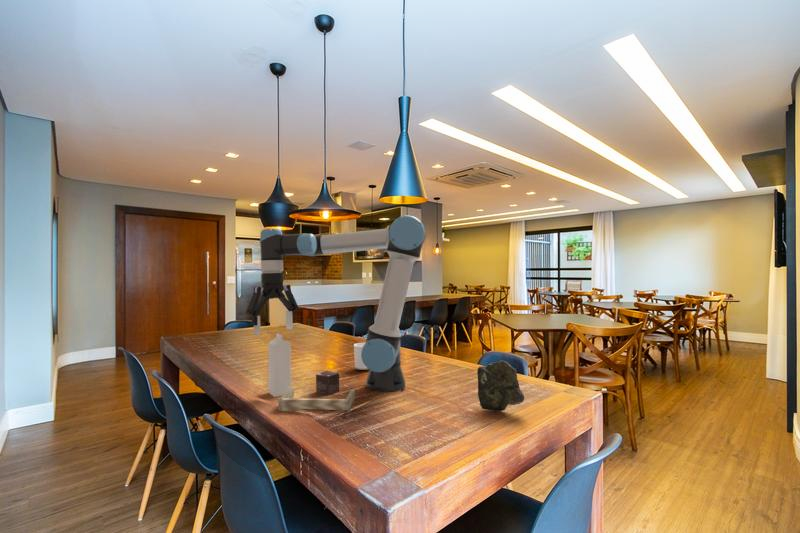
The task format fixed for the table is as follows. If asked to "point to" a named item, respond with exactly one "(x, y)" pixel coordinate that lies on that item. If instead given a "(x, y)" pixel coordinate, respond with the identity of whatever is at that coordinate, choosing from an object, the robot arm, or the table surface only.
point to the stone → (498, 386)
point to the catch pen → (314, 403)
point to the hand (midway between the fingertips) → (274, 331)
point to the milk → (279, 366)
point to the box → (327, 382)
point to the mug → (359, 356)
